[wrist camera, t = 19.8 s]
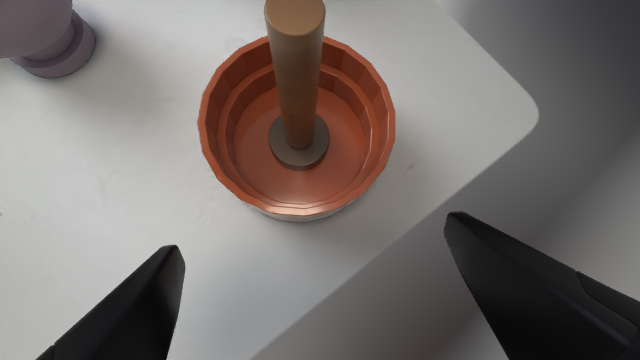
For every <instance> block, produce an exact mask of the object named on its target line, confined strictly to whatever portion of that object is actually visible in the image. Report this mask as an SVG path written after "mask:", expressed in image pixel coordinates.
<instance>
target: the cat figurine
mask: <svg viewBox="0 0 640 360" xmlns="http://www.w3.org/2000/svg"><path fill="white" fill-rule="evenodd" d="M72 6H73V5H72V0H0V57H4V58H10V60H11V61H13V62H15V63H16V64H18V65H19V66H21V67H23V68H24V69H26V70H27V71H29V72H31V73H32V74H34V75H36V76H41V77H46V78H54V77H62V76H65V75H68V74H71V73H73V72H74V71H76V70H78V69H79V68H81V67H82V66H83V65H84V64H85V63H86V62H87V61H88V59H89V58H90V56H91V54H92V52H93V50H94V43H95V37H94V34H93V32H92V29H91V28H90V27H89V26H88V24H87V23H86V22H85V21H84V20H83V19H82V18H81V17H80V16H79V15H78V14H77V13H76V12H75V11H74V10H73V9H72Z"/></svg>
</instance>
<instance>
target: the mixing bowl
mask: <svg viewBox="0 0 640 360" xmlns="http://www.w3.org/2000/svg"><path fill="white" fill-rule="evenodd" d="M316 114H317V115H318V116H320V117H321V118H322V119H323V121H324V122H325V123H326V125H327V127H328V130H329V134H330V142H329V147H328V150H327V153H326V155H325V157H324V159H323V160H322V161H321V162H320V163H319V164H318V165H316V166H315V167H313V168H311V169H308V170H302V171H296V170H291V169H288V168H286V167H284V166H283V165H281V164H280V163H279V162H278V161H277V160H276V159H275V157H274V156H273V154H272V151H271V148H270V145H269V138H268V137H269V130H270V128H271V125H272V123H273V122H274V121H275V119H276V118H277V117H278V116H280V115H281V110H280V104H279V98H278V92H277V86H276V80H275V74H274V68H273V62H272V56H271V50H270V44H269V39H268V36H265V37H262V38H260V39H258V40H256V41H254V42H252V43H250V44H248V45H245V46H243V47H241V48H239V49H238V50H237V51H235V52H234V53H233V54H232V55H231V56H230V57H229V58H228V59H227V60H226V61H225V62H223V63H222V64H221V65H220V66H219V67H218V68H217V69H216V71H215V73H214V74H213V76H212V78H211V80H210V82H209V83H208V85H207V87H206V89H205V91H204V92H203V95H202V100H201V105H200V111H199V117H198V130H199V136H200V142H201V147H202V152H203V155H204V156H205V158H206V160H207V162H208V163H209V165H210V167H211V169H212V171H213V172H214V174H215V176H216V178H217V179H218V180H219V181H220V182H221V183H222V184H223V185H224V186H225V187H227V188H228V189H229V190H230V191H231V192H232V193H233V194H235V195H236V196H237V197H238V198H239V199H240V200H241V201H243V202H244V203H246V204H247V205H249V206H250V207H251V208H253V209H254V210H256V211H258V212H261V213H263V214H265V215H268V216H270V217H273V218H275V219H277V220H284V221H296V222H308V221H313V220H317V219H321V218H325V217H329V216H332V215H333V214H335V213H337V212H338V211H340V210H341V209H343V208H345V207H346V206H348V205H350V204H351V203H353V202H354V201H355V200H356V199H357V198H358V197H360V196H361V195H362V194H363V193H364V192H366V190H367V189H368V188H369V187H370V186H371V184H372V183H373V182H374V181H375V179H376V178H377V177H378V176H379V175H380V173H381V172H382V171H383V170H384V168H385V166H386V163H387V161H388V158H389V155H390V152H391V150H392V147H393V144H394V141H395V110H394V107H393V104H392V101H391V97H390V94H389V91H388V88H387V86H386V84H385V82H384V81H383V80H382V78H381V77H380V75H379V74H378V73H377V71H376V70H375V68H374V67H373V66H372V64H371V63H370V62H369V61H368V60H366V59H365V58H364V57H362V56H361V55H360V54H358V53H357V52H356V51H355V50H353V49H352V48H351V47H349V46H348V45H346V44H343V43H341V42H338V41H336V40H333V39H331V38H328V37H325V36H323V44H322V54H321V64H320V75H319V85H318V95H317V106H316Z"/></svg>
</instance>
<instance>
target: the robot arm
mask: <svg viewBox="0 0 640 360" xmlns="http://www.w3.org/2000/svg"><path fill="white" fill-rule="evenodd" d="M444 236H445V239H446V241H447V243H448V246H449V248H450V250H451V252H452V255H453V257H454V260H455V262H456V264H457V266H458V269H459V271H460V273H461V275H462V277H463V279H464V281H465V283H466V284H467V286H468V288H469V290H470V292H471V293H472V295H473V297H474V299H475V300H476V302H477V304H478V306H479V307H480V309H481V311H482V312H483V315H484V316H485V318H486V320H487V322H488V323H489V325H490V327H491V329H492V330H493V332H494V334H495V336H496V338H497V339H498V341H499V343H500V345H501V346H502V348H503V350H504V352H505V353H506V355H507V357H508V359H509V360H640V302H639V301H637V300H635V299H633V298H631V297H629V296H627V295H625V294H622V293H620V292H618V291H616V290H614V289H612V288H610V287H608V286H606V285H604V284H602V283H600V282H598V281H596V280H594V279H592V278H590V277H588V276H586V275H584V274H583V273H581V272H579V271H575V270H574V269H573V268H571V267H569V266H567V265H565V264H563V263H561V262H559V261H557V260H555V259H553V258H552V257H550V256H548V255H546V254H544V253H542V252H540V251H538V250H536V249H534V248H532V247H530V246H528V245H526V244H524V243H523V242H520V241H519V240H517V239H515V238H513V237H511V236H509V235H507V234H505V233H503V232H501V231H499V230H498V229H496V228H494V227H492V226H490V225H488V224H486V223H484V222H482V221H480V220H478V219H476V218H474V217H472V216H470V215H469V214H467V213H465V212H463V211H454V212H450V213H449V214H448V215H447V219H446V224H445V227H444ZM184 275H185V262H184V259H183V257H182V255H181V252H180V250H179V248H178V246H177V245H168V246H163V247H161V248H160V249H159V250H157V251H156V252H155V253H154V254H153V255H152V256H151V257H150V258H149V259H147V260H146V261H145V262H144V263H143V264H142V265H141V266H140V267H138V268H137V269H136V270H135V271H134V272H133V273H132V274H131V275H130V276H128V277H127V278H126V279H125V280H124V281H123V282H122V283H121V284H120V285H118V286H117V287H116V288H115V289H114V290H113V291H112V292H111V293H110V294H108V295H107V296H106V297H105V298H104V299H103V300H102V301H101V302H99V303H98V304H97V305H96V306H95V307H94V308H93V309H92V310H91V311H89V312H88V313H87V314H86V315H85V316H84V317H83V318H82V319H81V320H79V321H78V322H77V323H76V324H75V325H74V326H73V327H72V328H71V329H69V330H68V331H67V332H66V333H65V334H64V335H63V336H62V337H60V338H59V339H58V340H57V341H56V342H55V343H54V345H52V346H50V347H49V348H48V349H47V350H46V351H45V352H44V353H42V354H41V355H40V356H39V357H38V358H37V359H36V360H166V359H167V355H168V351H169V348H170V344H171V340H172V337H173V333H174V329H175V326H176V322H177V318H178V313H179V307H180V301H181V294H182V288H183V281H184Z"/></svg>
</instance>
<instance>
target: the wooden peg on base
mask: <svg viewBox="0 0 640 360" xmlns="http://www.w3.org/2000/svg"><path fill="white" fill-rule="evenodd" d="M264 15H265V21H266V27H267V33H268V39H269V44H270V50H271V56H272V62H273V68H274V74H275V80H276V86H277V92H278V98H279V104H280V110H281V115H280V116H278V117H277V118H276V119H275V121H274V122H273V123H272V125H271V128H270V130H269V137H268V138H269V145H270V148H271V151H272V154H273V156H274V157H275V159H276V160H277V161H278V162H279V163H280V164H281V165H283V166H284V167H286V168H288V169H291V170H296V171H302V170H308V169H311V168H313V167H315V166H316V165H318V164H319V163H320V162H321V161H322V160H323V159H324V157H325V155H326V153H327V150H328V147H329V142H330V134H329V130H328V127H327V125H326V123H325V122H324V121H323V119H322V118H321V117H320V116H318V115H317V114H316V106H317V95H318V85H319V75H320V64H321V54H322V44H323V34H324V23H325V6H324V3H323V1H322V0H266V3H265V6H264Z"/></svg>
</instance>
